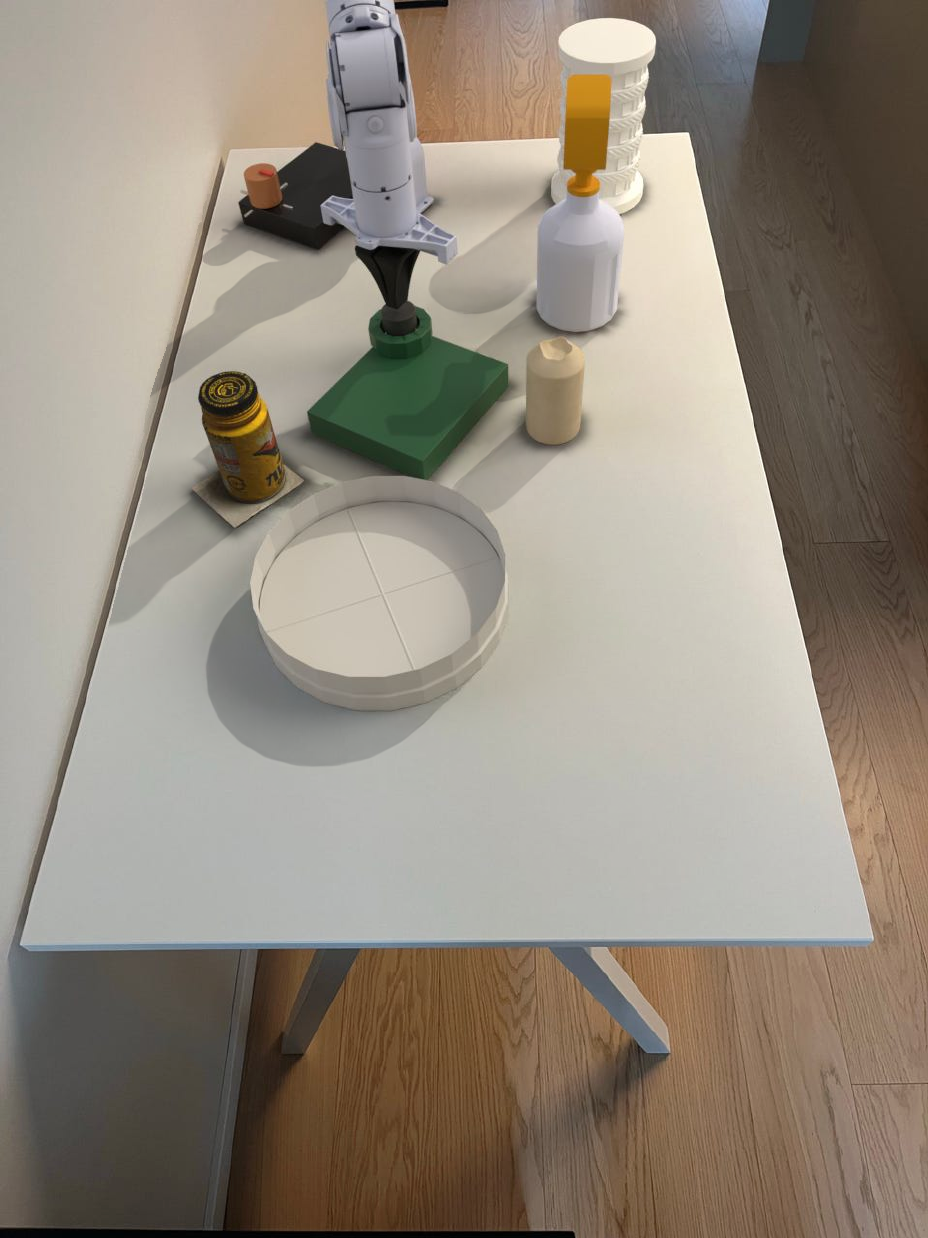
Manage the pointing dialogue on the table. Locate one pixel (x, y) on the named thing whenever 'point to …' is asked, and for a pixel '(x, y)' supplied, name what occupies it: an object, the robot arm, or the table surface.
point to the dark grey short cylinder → (399, 319)
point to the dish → (381, 592)
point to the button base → (409, 399)
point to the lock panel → (304, 197)
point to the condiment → (241, 449)
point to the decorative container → (625, 60)
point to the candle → (554, 391)
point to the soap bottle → (581, 221)
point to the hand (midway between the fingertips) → (397, 302)
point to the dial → (263, 185)
